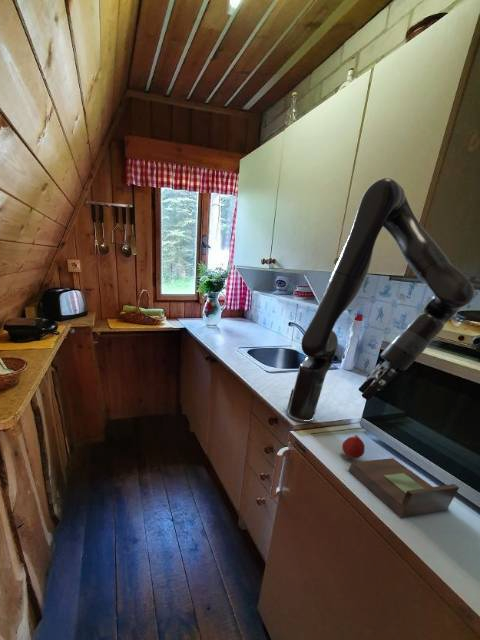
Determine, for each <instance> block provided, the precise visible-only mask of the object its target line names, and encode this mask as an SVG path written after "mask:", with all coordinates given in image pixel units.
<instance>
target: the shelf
mask: <svg viewBox="0 0 480 640" xmlns="http://www.w3.org/2000/svg"><path fill="white" fill-rule="evenodd" d="M348 472H349V473H350V474H351V475H352V476H354V477H355V478H356V479H357V480H358V481H359V482H360V483H361V484H362V485H364V487H366V488H367V489H368V490H369V491H370V492H371V493H372V494H373V495H375V496H376V497H377V498H378V499H379V500H380V501H381V502H382V503H383V504H384V505H386V506H387V507H388V508H389V509H390V510H391V511H393V513H395V514H396V515H397V516H398V517H399V518H406V517H413V516H419V515H424V514H430V513H435V512H436V513H437V512H441V511H446V510H448V509H449V507H450V505H451V503H452V501H453V500H454V498H455V497H456V494H457V492H458V491H459V489H460V486H458V484H457V485H456V484H455V483H453V484H452V483H451V484H445V485H437V486H433V485H432V484H430V483H429V482H428V481H426V480H424V479H423V478H422V477H421V476H419V475H418V474H416V473H414V472H413V471H412V470H411V469H409V468H408V467H406V466H405V465H403V464H402V463H401V462H399V461H398V460H397V459H395V458H394V457H392V458H380V459H370V460H369V459H368V460H361V461H360V460H359V461H352V462H351V463H350V465H349V468H348Z"/></svg>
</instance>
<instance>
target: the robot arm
mask: <svg viewBox="0 0 480 640" xmlns="http://www.w3.org/2000/svg"><path fill="white" fill-rule="evenodd" d="M405 193H406V192H405V190H404V188H403V187H402V186H401V185H400V183H398V182H397V181H395V180H394V179H392V178H388V177H386V178H385V177H384V178H380V179H378V180H375V181H374V182H373V183H372V184H371V185H369V186H368V187H367V188H366V190H365V191H364V193H363V195H362V196H361V200H360V202H359V204H358V205H359V206H358V208H357V212H356V215H355V218H354V222H353V224H352V227H351V230H350V233H349V235H348V238H347V240H346V242H345V244H344V246H343V249H342V251H341V253H340V255H339V258H338V260H337V262H336V264H335V266H334V268H333V271H332V273H331V275H330V277H329V281H328V283H327V285H326V288H325V291H324V293H323V295H322V298H321V300H320V302H319V304H318V307H317V310H316V311H315V313H314V316H313V317H312V319H311V321H310V323H309V325H308V326H307V328H306V330H305V331H304V334H303V336H302V338H301V342H300V343H301V344H300V345H301V346H300V347H301V350H302V352H303V354H304V355H305V356H306V357H305V358H304V360H302V362H300V364H299V366H298V371H297V374H296V377H295V381H294V385H293V388H292V389H291V391H290V395H289V400H288V403H287V408H286V412H287V413H286V414H287V416H288V417H289V418H290V419H292V420H294V421H296V422H300V423H305V424H306V423H312V422H313V421H314V418H315V414H316V412H317V407H318V404H319V401H320V396H321V393H322V389H323V386H324V383H325V379H326V376H327V373H328V372H329V370H330V369H331V367H332V363H333V361H334V358H335V356H336V352H337V349H338V343H339V341H338V335H337V333H336V332H335V331H333V329H334V328H335V325H336V323H337V321H338V319H339V318H340V317H341V316H342V314H343V313H344V312H346V310H347V308H348V307H349V306H350V305H351V303H352V302H353V301H354V300H355V299H356V297H357V296H358V294H359V292H360V290H361V288H362V286H363V284H364V282H365V279H366V277H367V275H368V272H369V269H370V266H371V262H372V257H373V251H374V248H375V244H376V241H377V239H378V237H379V235H380V233H381V232H382V231H381V230H382V229H383V228H384V229H385V230H386V231H387V232H388V233H389V234H390V236H392V239H394V241H395V243H396V244H397V247H398V248H399V250H400V252H401V254H402V257H403V258H404V260H405V262H406V263H407V264H408V266H409V267H410V269H411V270H412V272H413V273H414V274H415V276H416V277H417V278H418V280H419V281H420V282H421V283H422V284H426V285H427V286H428V288H429V289H430V290H431V292H432V293H433V296H432V297H431V298H430V300H429V301H428V302H427V303H426V304H425V305H424V307H423V308H422V309H421V311H420V312H419V313H418V314H416V316H415V317H413V319H411V321H410V322H409V323H408V324H407V325H406V326H405V328H403V329H402V330H401V331H400V332H399V333H398V334H397V335H396V336H395V337H394V338H393V340H392V341H391V342H390V343H389V344H388V345H387V346H386V347H385V348H384V350H383V351H382V352H381V353H380V354H379V356H380V358H382V359H383V360H384V361H383V362H382V361H379V362H378V363H377V364H376V365H375V367H374V368H373V369H372V370H371V371H370V372H369V373H368V374H367V375H366V379H365V381H363V382H362V384H361V385H360V387H358V392H360V393H361V397H362V398H363V399H365V400H366V401H369V400H370V399H372V397H373V396H374V395H375V394H376V393H377V392H378V391H382V390H383V391H384V389H385V388H386V387H387V385H388V384H389V383H390V382H391V381H392V380H393V379H394V378H395V376H397V375H398V371H396V370H397V369H399V370H401V371H406V370H407V369H409V367H410V366H411V365H412V364H413V363H414V362H415V361H416V360H417V359H418V358H419V357H420V356H421V354H423V352H424V351H425V350H426V349H427V347H428V346H429V345H430V343H432V341H434V340H435V338H436V337H437V336H439V334H440V333H441V332H442V330H443V329H444V328H445V325H446V324H447V323H448V322H449V321H450V320H451V319H452V318H453V317H454V315H456V314H457V313H458V312H459V311H460V310H461V309H462V308H464V307H466V306H468V305H469V304H470V303H471V302H472V301H473V299H474V298H475V297H474V296H475V288H474V285H473V283H472V282H471V281H470V280H469V278H468V277H467V276H465V274H463V272H461V270H459V269H458V268H457V267H456V266H454V265H453V264H452V263H451V261H450V259H449V258H448V257H447V255H446V254H445V253H444V252H443V249H441V247H440V246H439V245H438V244H437V242H436V241H435V239H433V237H432V236H431V235H430V234H429V233H428V232H427V231H426V230H425V228H424V227H423V226H422V225H421V223H420V221H418V219H417V217H416V216H415V214H414V212H413V209H412V208H411V206H410V203H409V201H408V199H407V197H406V194H405ZM313 417H314V418H313ZM312 418H313V420H310V419H312ZM304 420H310V421H304Z"/></svg>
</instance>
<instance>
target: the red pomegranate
mask: <svg viewBox="0 0 480 640" xmlns="http://www.w3.org/2000/svg"><path fill="white" fill-rule="evenodd" d="M365 449H366V445H365V443H364V442H363V440H362V439H361V438H360V436H359V435H357V434H354V436H351V437H348V438H347V439H345V440H344V441H343V443H342V452H343V453H344V454H345V456H346V457H347V458H348V459H349V460H355V459H356V460H357V459H358V458H361V457H362V456H363V455H364V454H365V451H366V450H365Z"/></svg>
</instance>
